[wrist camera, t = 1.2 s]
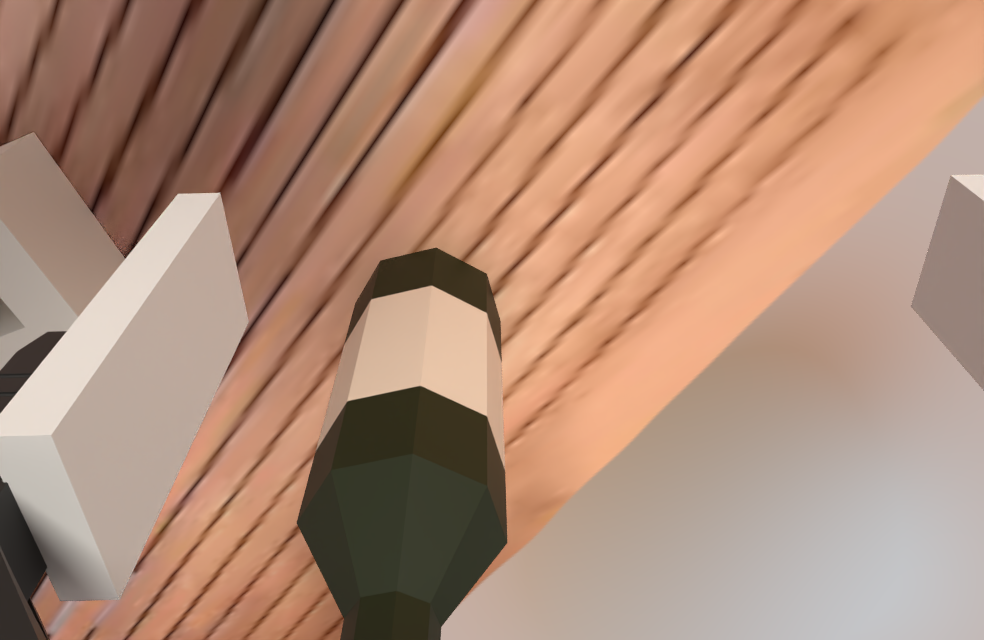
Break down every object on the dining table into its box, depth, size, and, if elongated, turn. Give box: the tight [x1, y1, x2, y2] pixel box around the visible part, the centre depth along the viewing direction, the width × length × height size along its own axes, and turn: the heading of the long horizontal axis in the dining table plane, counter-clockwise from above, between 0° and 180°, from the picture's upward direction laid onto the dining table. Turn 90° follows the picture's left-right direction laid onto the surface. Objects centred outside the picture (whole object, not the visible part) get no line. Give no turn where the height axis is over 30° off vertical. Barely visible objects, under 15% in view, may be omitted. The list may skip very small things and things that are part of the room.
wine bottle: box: [297, 248, 507, 640], centre depth 33 cm, size 8×8×30 cm
